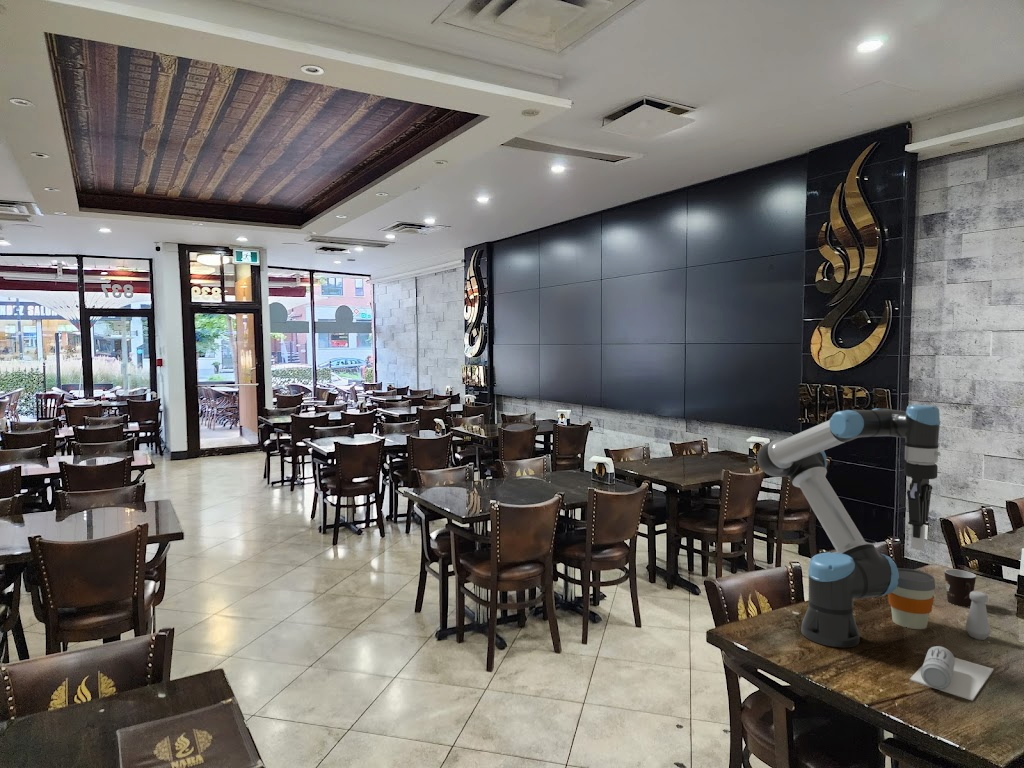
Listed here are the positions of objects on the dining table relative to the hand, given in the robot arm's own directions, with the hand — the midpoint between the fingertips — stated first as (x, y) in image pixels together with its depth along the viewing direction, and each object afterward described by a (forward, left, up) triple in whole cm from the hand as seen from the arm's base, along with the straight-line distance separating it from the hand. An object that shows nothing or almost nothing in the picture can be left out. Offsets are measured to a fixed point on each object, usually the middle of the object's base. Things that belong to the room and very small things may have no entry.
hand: (917, 548), depth 171 cm
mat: (+6, -10, -29) cm, 31 cm away
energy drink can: (-1, -21, -26) cm, 33 cm away
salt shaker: (+21, +19, -30) cm, 41 cm away
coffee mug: (+25, +46, -30) cm, 60 cm away
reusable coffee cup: (+5, +24, -30) cm, 38 cm away
